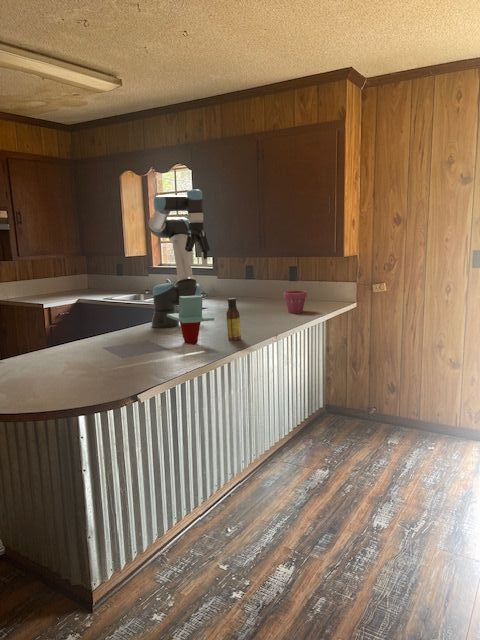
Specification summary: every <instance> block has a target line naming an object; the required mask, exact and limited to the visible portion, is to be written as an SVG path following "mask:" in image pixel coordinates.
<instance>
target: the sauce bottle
mask: <svg viewBox="0 0 480 640" xmlns="http://www.w3.org/2000/svg"><path fill="white" fill-rule="evenodd" d="M227 303H228V304H227V305H228V307H227V310H226V325H227V337H228V340H229V341H239V340H241V339H242V332H241V316H240V312H239V310H238V308H237V298H236V297H229V298H227Z"/></svg>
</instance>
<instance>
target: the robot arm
mask: <svg viewBox="0 0 480 640" xmlns="http://www.w3.org/2000/svg"><path fill="white" fill-rule="evenodd" d="M203 201H204V200H203V191H202V190H200V189H189V190H187V191H186V195H156V196H154V197H153V209H154V211H153V215H152V216H151V217H150V218H149V219H148V223H147V226H148V230H149V232H150V233H151V234H152V235H153V236H155V237H157V238H161V239H168V240H169V242H170V243H171V244H172V249H173V256H174V260H175V261H174V262H175V269H176V274H177V275H176V276H177V281H176V283H175V284H174V282H169V283H167V282H165V283H160V284H156V285H154V286H153V288H152V296H153V297H152V298H153V299H152V301H153V315H152V320H151V327H153V328H157V329H158V328H159V329H162V328H163V329H166V328H175V327H177V326H180V322H179V321H177V320H174V319H172V318H169V317H167V314H174V313H177V312H176V307H179V296H202V287H201V284H200V283H197V282H198V281H197V280H196V279H195V278H194V275H193V269H192V265H195V264H194V263H195V262H194V246H195V244H196V243H198V246H199V247H200V250H201V253H200V254H201V266H208V252H209V251H210V250H211V249H210V246H209V242H208V238H207V233H206V231H204V228H205V227H204V209H203V208H204V205H203ZM171 212H187V218H186V217H181V216H179V217H169V215H170V213H171Z"/></svg>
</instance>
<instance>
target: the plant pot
mask: <svg viewBox="0 0 480 640" xmlns="http://www.w3.org/2000/svg"><path fill="white" fill-rule="evenodd" d="M283 298H284V300H285V303H286V304H285V305H286V308H287V312H288V313H290V314H291V313H292V314H299V313H300V314H301V313H303V312H304V307H305V302H306V301H305V300H306V298H307V291H306V290H287V291H284V292H283Z"/></svg>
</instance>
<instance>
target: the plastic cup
mask: <svg viewBox="0 0 480 640" xmlns="http://www.w3.org/2000/svg"><path fill="white" fill-rule="evenodd" d="M201 323H202V322H191V323H182V322H179V326H180V329H181V333H182V337H183V343H184V344H187V345H193V346H194V345H198V340H199V334H200V327H201Z"/></svg>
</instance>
